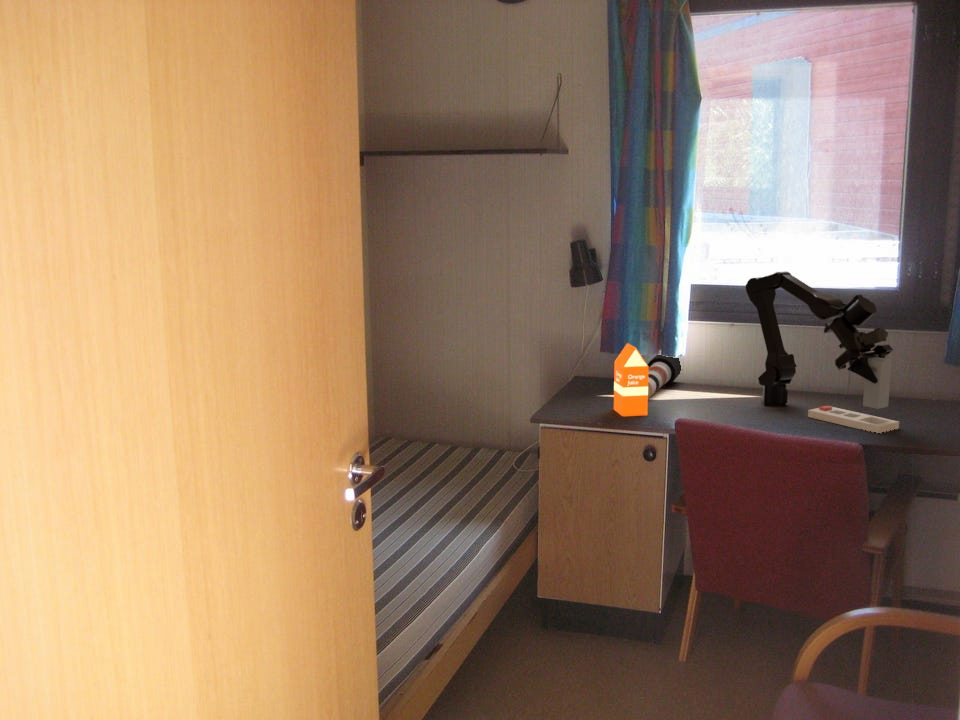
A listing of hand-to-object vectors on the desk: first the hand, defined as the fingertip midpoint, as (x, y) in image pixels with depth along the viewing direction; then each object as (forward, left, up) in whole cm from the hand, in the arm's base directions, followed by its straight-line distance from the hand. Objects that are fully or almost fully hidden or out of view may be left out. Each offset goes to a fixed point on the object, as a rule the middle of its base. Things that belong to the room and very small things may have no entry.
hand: (881, 381), depth 248 cm
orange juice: (-67, +10, -13) cm, 69 cm away
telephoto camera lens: (-60, +40, -13) cm, 73 cm away
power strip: (-6, +6, -13) cm, 16 cm away
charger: (-1, +1, -7) cm, 7 cm away
